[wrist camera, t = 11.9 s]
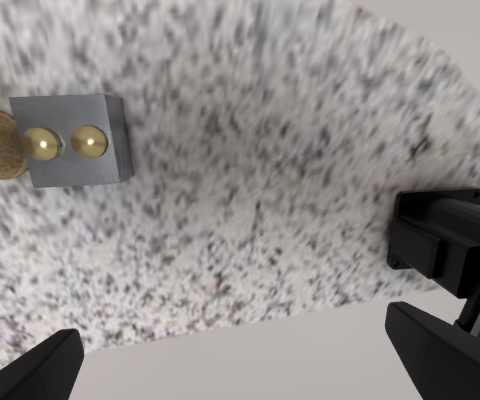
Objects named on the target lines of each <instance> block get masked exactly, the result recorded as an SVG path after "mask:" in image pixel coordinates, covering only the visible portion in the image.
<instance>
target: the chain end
mask: <svg viewBox="0 0 480 400" xmlns="http://www.w3.org/2000/svg"><path fill="white" fill-rule="evenodd" d="M9 101H10V104H11V108H12V111H13V115H14V118H15V122H16V125H17V129H18V133H19V136H20V140H21V143H22V147H23V150H24V154H25V158H26V161H27V165H28V168H29V172H30V175H31V179H32V182H33V186H34V188H42V187H60V186H79V185H98V184H117V183H122V182H123V181H125V180H127V179H128V178H130V177H132V176H133V175H134V173H133V167H132V161H131V155H130V149H129V143H128V137H127V130H126V124H125V118H124V112H123V106H122V100H121V98H117V97H113V96H109V95H105V94H95V95H66V96H38V97H9Z"/></svg>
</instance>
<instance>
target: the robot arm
mask: <svg viewBox="0 0 480 400" xmlns="http://www.w3.org/2000/svg"><path fill="white" fill-rule="evenodd" d="M473 194H474V195H473ZM405 196H406V199H405V200H404V201H403V198H404V197H405ZM395 262H396V263H395ZM387 263H388V266H389V267H391V268H392V269H394V270H398V269H411V268H414V269H415V270H417V271H418V272H419V273H421V274H422V275H423V276H425V277H426V278H428V279H432V280H434V281H435V282H436V283H438V284H439V285H440V286H442V287H443V288H445V289H446V290H447V291H449V292H450V293H451V294H453V295H454V296H456V297H457V298H459V299H465V298H466V299H467V301H466V303H465V305H464V307H463V309H462V312H461V314H460V316H459V318H458V320H455V322H454V324H453V325H451V324H449V323H447V322H445V321H443V320H441V319H439V318H437V317H435V316H433V315H430V314H429V313H427V312H424V311H422V310H420V309H418V308H416V307H414V306H412V305H410V304H408V303H406V302H403V301H400V302H391V303H389V304H388V307H387V314H386V320H385V329H386V332H387V335H388V337H389V338H390V340H391V342H392V344H393V346H394V348H395V350H396V352H397V354H398V355H399V357H400V359H401V361H402V363H403V365H404V367H405V369H406V371H407V372H408V374H409V376H410V378H411V380H412V381H413V383H414V385H415V387H416V389H417V390H418V392H419V393H420V395H421V397H422V398H423V400H480V189H478V188H474V187H469V188H452V189H435V190H418V191H403V192H400V193H399V194H398V195H397V198H396V205H395V212H394V219H393V223H392V230H391V237H390V244H389V254H388V262H387ZM394 263H395V264H394ZM83 359H84V349H83V345H82V341H81V338H80V334H79V331H78V330H77V329H75V328H72V329H62V330H59V331H57V332H56V333H54V334H53V335H52V336H50V337H49V338H47V339H46V340H44V341H43V342H41V343H40V344H38V345H37V346H35V347H34V348H32V349H31V350H29V351H28V352H26V353H25V354H23V355H22V356H20V357H19V358H17V359H16V360H14V361H13V362H12V363H10V364H9V365H7V366H6V367H4V368H3V369H1V370H0V400H68V399H69V396H70V394H71V391H72V389H73V386H74V383H75V381H76V378H77V375H78V373H79V370H80V367H81V364H82V362H83Z"/></svg>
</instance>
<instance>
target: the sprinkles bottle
mask: <svg viewBox="0 0 480 400" xmlns="http://www.w3.org/2000/svg"><path fill="white" fill-rule="evenodd" d="M27 168H28V165H27V161H26V158H25V154H24V150H23V147H22V143H21V140H20V136H19V133H18V129H17V125H16V122H15V120H14V119H13V118H11V117H10V116H8V115H6V114H5V113H2V112H0V180H7V179H12V178H15V177H17V176H19V175H21V174H22V173H24V171H25V170H26V169H27Z"/></svg>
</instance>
